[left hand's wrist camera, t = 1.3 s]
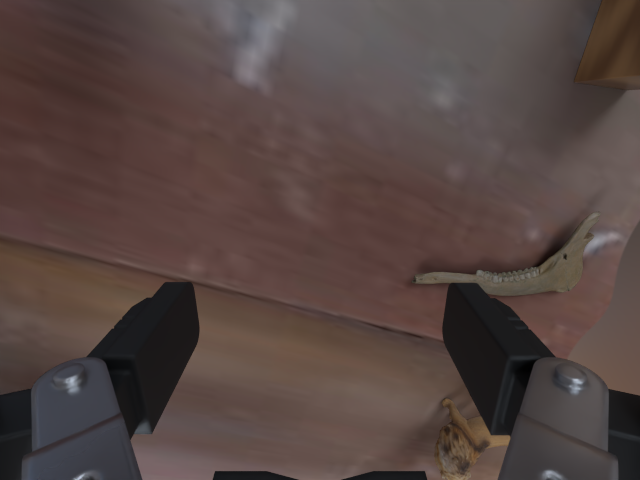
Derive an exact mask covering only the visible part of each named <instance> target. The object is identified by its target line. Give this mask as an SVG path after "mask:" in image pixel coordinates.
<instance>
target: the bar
mask: <svg viewBox="0 0 640 480" xmlns="http://www.w3.org/2000/svg"><path fill="white" fill-rule="evenodd" d="M574 82H576V83H583V84H590V85H596V86H603V87H609V88H616V89H623V90H640V0H602V2H601V5H600V8H599V11H598V14H597V16H596V19H595V22H594V25H593V28H592V31H591V34H590V37H589V39H588V42H587V45H586V48H585V51H584V54H583V57H582V60H581V63H580V65H579V68H578V71H577V74H576V77H575V80H574Z"/></svg>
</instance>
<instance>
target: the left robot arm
mask: <svg viewBox="0 0 640 480" xmlns="http://www.w3.org/2000/svg"><path fill="white" fill-rule="evenodd" d="M442 332H443V340H444V343H445V346H446V348H447V350H448V352H449V354H450V356H451V358H452V360H453V362H454V364H455V366H456V368H457V370H458V372H459V374H460V376H461V377H462V379H463V381H464V383H465V385H466V387H467V389H468V391H469V393H470V395H471V397H472V399H473V401H474V403H475V405H476V407H477V409H478V411H479V413H480V415H481V417H482V419H483V421H484V423H485V425H486V427H487V428H488V430H489V432H490V434H491V435H509V436H510V441H509V444H508V448H507V451H506V454H505V457H504V461H503V464H502V467H501V470H500V474H499V477H498V480H640V396H638V395H634V394H629V393H625V392H620V391H615V390H610V389H608V387H607V385H606V384H605V382H604V381H603V380H602V379H601V378H600V377H599V376H598V375H597V374H595V373H594V372H593V371H591V370H590V369H588V368H586V367H584V366H582V365H580V364H578V363H575V362H573V361H570V360H566V359H562V358H556V357H555V356H554V355H553V354H552V353H551V351H550V350H549V349H548V348H547V347H546V346H545V345H544V344H543V343H542V342H541V341H540V339H539V338H538V337H537V336H536V335H535V334H534V333H533V332H532V331H531V330H529V329H528V326H527V325H526V324H525V323H524V322H523V321H522V320H520V318H519V316H518V315H517V314H516V313H515V312H514V311H513V310H512V309H511V308H510V307H509V306H507V305H505V304H504V303H502V302H500V301H499V300H497V299H495V298H490V297H489V296H488V295H487V294H486V292H485V291H484V290H483V289H482V288H481V287H480V285H479V284H478V283H451V284H450V285H449V287H448V292H447V299H446V306H445V312H444V319H443V328H442ZM198 338H199V320H198V313H197V306H196V299H195V292H194V287H193V284H192V283H191V282H165V283H164V284H163V285H162V286H161V287H160V289H159V290H158V291H157V292H156V293H155V294H154V296H153V297H152V298H146V299H144V300H143V301H141V302H139V303H138V304H136V305H134V306H133V307H131V309H130V310H129V311H128V312H127V313H126V314H125V315H124V316H123V317H122V320H120V321H119V322H118V323H117V324H116V325H115V326H114V329H111V331H110V332H109V333H108V334H107V335H106V336H105V337H104V338H103V339H102V340H101V342H100V343H99V344H98V345H97V346H96V347H95V348H94V349H93V350H92V351H91V353H90V354H89V355H88V356H87V357H84V358H78V359H74V360H70V361H67V362H65V363H62V364H60V365H58V366H56V367H54V368H52V369H50V370H49V371H47V372H46V373H45V374H43V375H42V376H41V377H40V378H39V379H38V380H37V381H36V382H35V384H34V385H33V387H32V389H27V390H22V391H18V392H13V393H8V394H4V395H0V480H142V477H141V474H140V470H139V467H138V464H137V461H136V457H135V454H134V451H133V448H132V444H131V441H130V440H131V438H132V436H133V434H152V433H153V431H154V429H155V427H156V425H157V423H158V421H159V419H160V417H161V415H162V413H163V411H164V409H165V407H166V405H167V403H168V401H169V399H170V397H171V395H172V393H173V391H174V389H175V387H176V385H177V383H178V381H179V379H180V377H181V375H182V373H183V371H184V369H185V367H186V365H187V363H188V361H189V359H190V357H191V355H192V353H193V351H194V349H195V347H196V345H197V342H198ZM213 480H297V479H294V478H290V477H286V476H282V475H279V474H275V473H271V472H267V471H215V474H214V477H213ZM343 480H427V477H426V474H425V471H373V472H369V473H365V474H361V475H358V476H354V477H350V478H346V479H343Z"/></svg>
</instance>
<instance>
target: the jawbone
mask: <svg viewBox="0 0 640 480" xmlns="http://www.w3.org/2000/svg"><path fill="white" fill-rule="evenodd" d="M599 216H600V212H594V213H592V214H591V215H589V216H588V217H587V218H586V219H584V220H583V221H582V222H581V224H580V225H579V226H578V227H577V229H576V230H575V231H574V233H573V234H572V236H571V237H570V238H569V239H568V241H567V242H566V243H565V244H564V246H563V247H562V248H561V249H560V250H558V251H557V252H556V253H555V254H554V255H553V256H551V257H549V258H548V259H547V260H546V261H545V262H544V263H543V264H541V265H540V266H539V267H534V268H533V267H531V268H530V269H527V268H526V269H525V270H524V271H522V270H521V269H520V270H518V271H517V272H516V271H513V272H512V273H511V272H507V273H505V272H502V273H501V274H500V273H499V274H498V275H497V273H496V272H494V273H493V274H492V273H491V272H489V271H485V272H483V271H482V270H477V272H476V274H472V275H471V274H461V273H448V272H432V273H426V274H416V275H415V276H414V279H415V280H413V281H411V282H412V283H419V284H436V283H478V284H479V285H480V287H481V288H482V289H483V290H484V291H485V292H486V293H487V294H492V295H499V296H517V295H528V294H536V293H541V292H547V291H556V292H565V291H567V290H568V291H570V290H571V289H572V288H574V287H575V285H576V284H577V283H578V282H579V280H580V278H581V275H582V267H583V266H582V265H583V263H582V257H583V251H584V248H585V246H586V245H587V244H588V242H590V241H591V240H592V239H593V237H594V235H593V234H591V233H587V232H588V231H589V230H590V228H591V227H592V226H593V225H594V224H596V223H597V222H598V221H599V220H598V217H599Z"/></svg>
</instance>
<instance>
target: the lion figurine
mask: <svg viewBox="0 0 640 480" xmlns="http://www.w3.org/2000/svg"><path fill="white" fill-rule="evenodd" d="M442 404H443V406H444V407H448V409H449V411H450V419H451V420H452V422H450V423H449V424H448V425H447V426H444V427H443V428H442V430H440V438H439V439H438V440H437V443H436V446H435V455H434V456H435V462H436V464H437V466H438V468H439V470H440V471H441V472H440V473H441V476H442V478H443V479H448V480H467V479H468V478H470V477H471V474H470V468H472V466H473V465H474V464H475V463H476V462H477V460H478V457H480V455H481V454H482V453H483V452H484V450H485V449H487V448H491V447H496V446H508V444H509V441H510V436H509V435H491V434H490V432H489V430H488V428H487V427H486V425H485V423H484V421H483V419H482V417H481V416H479V417H474V418H471V419H468V420H466V419H465V418H464V417H463V416H462V415H461V414H460V413H459V411H458V410H457V408H456V406H455V404H454V403H453V402H452V401H451V400H450V399H444V400H443V401H442Z"/></svg>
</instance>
